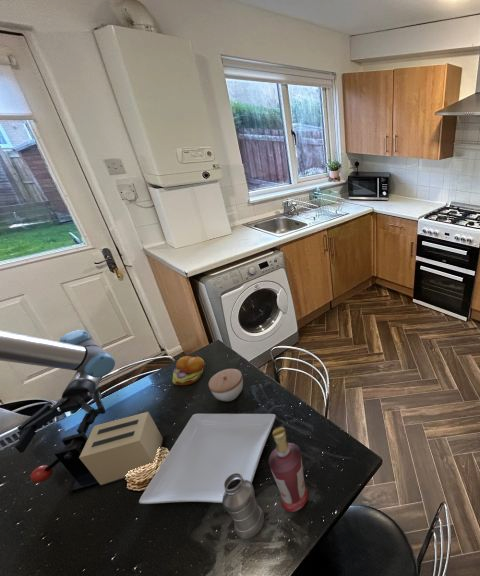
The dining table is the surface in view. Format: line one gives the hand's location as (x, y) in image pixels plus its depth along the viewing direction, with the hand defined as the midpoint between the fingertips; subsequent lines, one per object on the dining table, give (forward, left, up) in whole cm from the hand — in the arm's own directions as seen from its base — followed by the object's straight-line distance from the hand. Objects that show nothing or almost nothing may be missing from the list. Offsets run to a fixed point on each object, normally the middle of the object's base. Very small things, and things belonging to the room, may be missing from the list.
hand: (50, 441), depth 88 cm
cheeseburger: (+23, +30, -8) cm, 39 cm away
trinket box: (+41, +19, -8) cm, 46 cm away
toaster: (+21, -3, -8) cm, 23 cm away
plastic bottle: (+59, -25, -8) cm, 65 cm away
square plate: (+45, -6, -8) cm, 47 cm away
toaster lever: (+8, -7, -1) cm, 11 cm away
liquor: (+69, -20, -8) cm, 73 cm away
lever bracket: (+11, -6, -8) cm, 15 cm away
